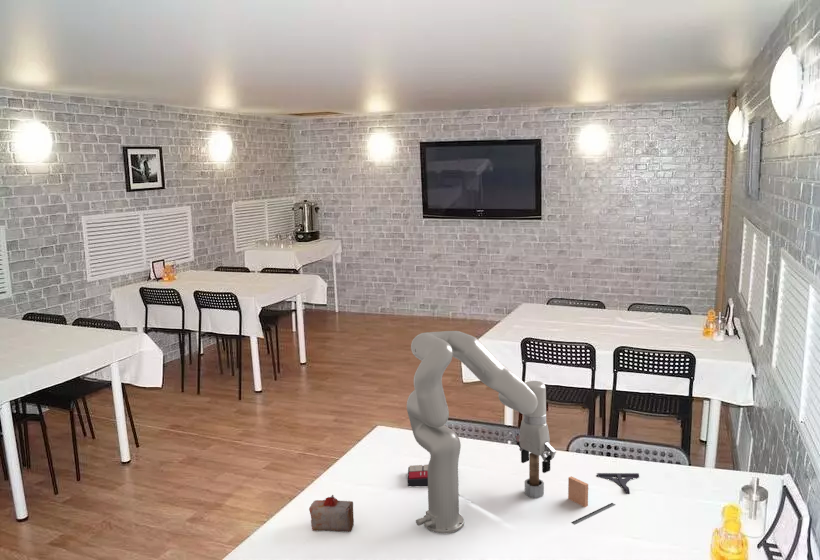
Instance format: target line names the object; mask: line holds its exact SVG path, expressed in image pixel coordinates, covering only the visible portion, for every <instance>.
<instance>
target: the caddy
mask: <svg viewBox="0 0 820 560" xmlns="http://www.w3.org/2000/svg"><path fill="white" fill-rule="evenodd" d="M544 489H545V482H544V480H542V479H540V478H539V486H532V485H529V478H527V479H525V480H524V494H525V496H527V498H528V497H529V498H532V499H539V498H542V497H544V493H545V490H544Z"/></svg>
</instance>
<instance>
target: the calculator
mask: <svg viewBox="0 0 820 560" xmlns="http://www.w3.org/2000/svg"><path fill="white" fill-rule="evenodd" d="M407 469H408V470H407V478H406V480H407V487H408V486H428V464H423V465H422V464H417V465H416V464H415V465H409V466H408V468H407Z"/></svg>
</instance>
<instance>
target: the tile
mask: <svg viewBox="0 0 820 560" xmlns="http://www.w3.org/2000/svg"><path fill="white" fill-rule="evenodd" d="M567 480H568V487H567V488H568V493H567V494H568V496H567V497H568V500H570V501H571V502H573V503H576V504H578V505H580V506H582V507H584V508H586V507H588V506H589V483H587V482H586V481H583V480H580V479H578V478H576V477H574V476H569V477H568V479H567Z"/></svg>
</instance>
